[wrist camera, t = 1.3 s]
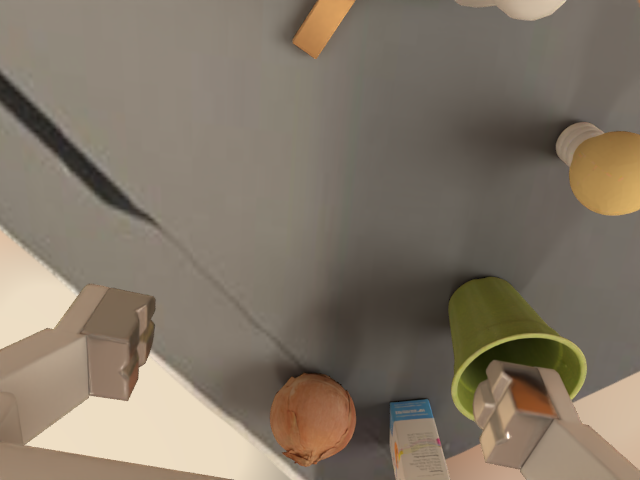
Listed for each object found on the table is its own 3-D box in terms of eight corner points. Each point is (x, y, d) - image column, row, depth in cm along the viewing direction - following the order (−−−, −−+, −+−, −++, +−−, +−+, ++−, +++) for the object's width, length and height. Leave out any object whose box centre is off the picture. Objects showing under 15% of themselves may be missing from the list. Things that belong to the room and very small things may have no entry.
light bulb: (537, 114, 44) (595, 162, 36) (613, 96, 44) (690, 141, 35) (537, 180, 48) (590, 238, 39) (608, 164, 47) (677, 219, 39)
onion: (304, 388, 66) (289, 473, 60) (263, 359, 59) (243, 452, 54) (373, 387, 61) (364, 478, 56) (338, 355, 54) (323, 456, 49)
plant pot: (442, 250, 52) (477, 327, 42) (553, 263, 53) (611, 340, 44) (411, 338, 58) (435, 423, 48) (511, 348, 59) (554, 431, 50)
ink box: (387, 401, 63) (411, 521, 51) (429, 397, 63) (462, 517, 51) (388, 445, 68) (410, 565, 55) (426, 441, 68) (457, 561, 55)
